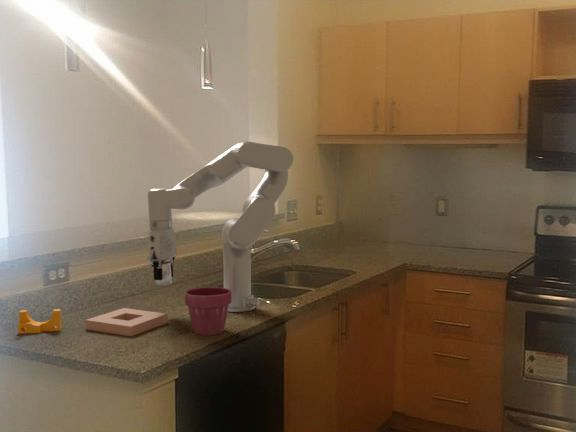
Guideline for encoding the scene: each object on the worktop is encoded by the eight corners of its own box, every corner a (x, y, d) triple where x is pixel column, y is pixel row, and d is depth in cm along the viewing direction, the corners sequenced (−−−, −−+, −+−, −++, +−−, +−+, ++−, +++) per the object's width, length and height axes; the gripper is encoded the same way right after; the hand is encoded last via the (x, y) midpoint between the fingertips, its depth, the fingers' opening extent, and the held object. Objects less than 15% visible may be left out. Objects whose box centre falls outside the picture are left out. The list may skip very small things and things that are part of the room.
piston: (175, 282, 239) (173, 256, 238) (165, 285, 235) (164, 259, 234) (162, 281, 242) (161, 255, 241) (152, 284, 237) (151, 258, 236)
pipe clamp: (18, 334, 215) (17, 313, 214) (22, 330, 219) (21, 310, 218) (58, 332, 216) (58, 312, 216) (61, 329, 220) (60, 308, 220)
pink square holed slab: (167, 322, 227) (167, 313, 227) (131, 336, 211) (130, 326, 211) (124, 316, 235) (123, 307, 235) (85, 329, 219) (85, 319, 219)
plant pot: (210, 323, 226) (209, 284, 225) (241, 330, 217) (241, 290, 216) (176, 332, 215) (175, 291, 214) (207, 340, 206) (206, 298, 205)
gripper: (153, 228, 227) (156, 284, 229) (184, 222, 242) (187, 274, 244) (135, 228, 230) (138, 282, 232) (167, 221, 245) (170, 272, 247)
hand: (163, 277), depth 238 cm, fingers closed on piston, 5 cm apart
